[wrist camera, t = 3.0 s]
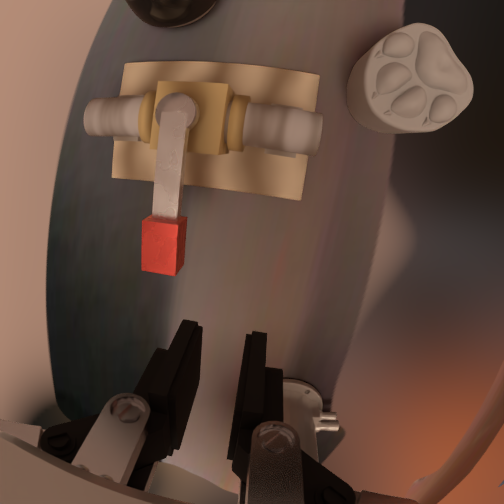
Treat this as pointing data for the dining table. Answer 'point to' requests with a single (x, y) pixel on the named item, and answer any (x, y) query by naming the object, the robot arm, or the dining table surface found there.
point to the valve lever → (169, 187)
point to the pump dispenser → (170, 11)
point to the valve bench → (234, 162)
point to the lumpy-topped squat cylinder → (408, 83)
